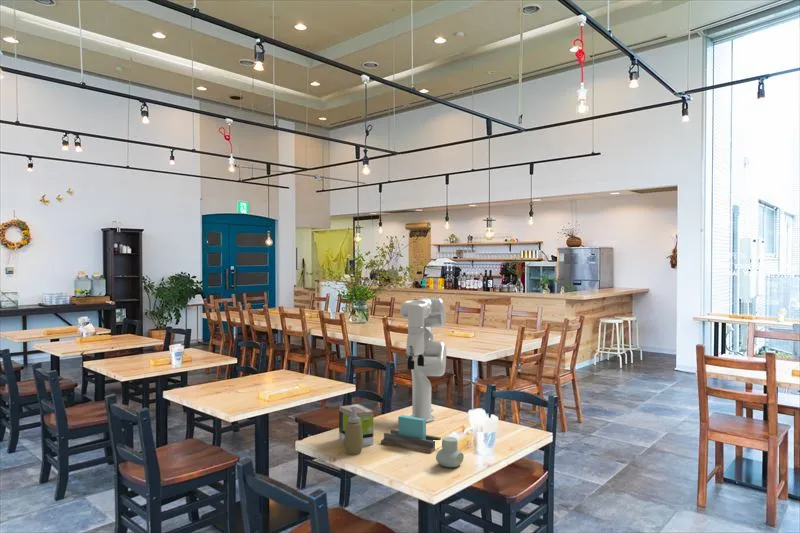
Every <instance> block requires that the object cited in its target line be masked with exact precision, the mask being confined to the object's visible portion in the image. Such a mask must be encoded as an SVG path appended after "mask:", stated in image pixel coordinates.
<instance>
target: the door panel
mask: <svg viewBox="0 0 800 533" xmlns="http://www.w3.org/2000/svg"><path fill="white" fill-rule="evenodd" d="M397 420H398V421H397V424H398V426H397V428H398V429H397V430H398V435H403V436H408V437H414V438H420V439H425V440H426V435H427V422H426V419H424V418H417V417H411V415H404V414H400V415H398V417H397Z"/></svg>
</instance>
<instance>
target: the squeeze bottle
mask: <svg viewBox="0 0 800 533" xmlns="http://www.w3.org/2000/svg"><path fill="white" fill-rule="evenodd" d="M359 421H360V418H359V417H357V414H356V409H355V408H353V409H352V414H351V417H349V418H348V423H347V424H346V429H345V438H344V441H343V445H344V448H345V451H346V454H348V455H359V454H361V452H362V449H363V447H364V446H363V444H364V443H363V432H362V424H361V423H360V422H359Z"/></svg>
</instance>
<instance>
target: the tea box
mask: <svg viewBox="0 0 800 533" xmlns="http://www.w3.org/2000/svg"><path fill="white" fill-rule="evenodd" d="M338 408H339V410H338V413H339V414H338V416H339V417H338V439H339V440H340V441H342V442H344V438H345V429H346V424H347V423H348V418H349V417H351V414H352V409H353V408H355V409H356V414H357V417H359V418H360V421H359V422H360V423H361V424H362V432H363V443H364V444H363V447H366V446H372V445H374V420H375V419H374V415H375V414H374V412H375V411H374V410H372V409H370V408H368V407H366V406H363V405H361V404H359V403H357V404H349V405H348V404H347V405H341V406H339V407H338Z"/></svg>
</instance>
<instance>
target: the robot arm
mask: <svg viewBox="0 0 800 533" xmlns="http://www.w3.org/2000/svg"><path fill="white" fill-rule="evenodd" d="M444 303H445V302H444V301H443V299H442V298H439V297H423V298H420V299H414V300H406V301H403V302H402V303H401V305H400V309H399V310H400V316H401V317H402V318H403V319H407V338H406V345H405V346H406V351H405V355H406V361H407V369H408V370H411V378H412V379H411V380H412V382H411V383H412V388H411V390H412V391H411V392H412V394H411V395H412V400H411V401H412V403H411V405H412V408H411V409H412V414H410V416H411V417H417V418H424V419H426V423H430V422H433V421H434V420H435V416H434V415H432V413H433V412H434V411H435V410H434V408H433V407H432V383H431V381H430V380H429V379H428V377H442V376H444V375H445V373H446V368H447V367H446V366H447V346H446V344H445V342H444V341H440V340H434V335H433V334H432V332H431V330H430V329H428V328H443V327H445V325H446V322H447V316H446V315H447V314H446V306H445V304H444Z"/></svg>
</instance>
